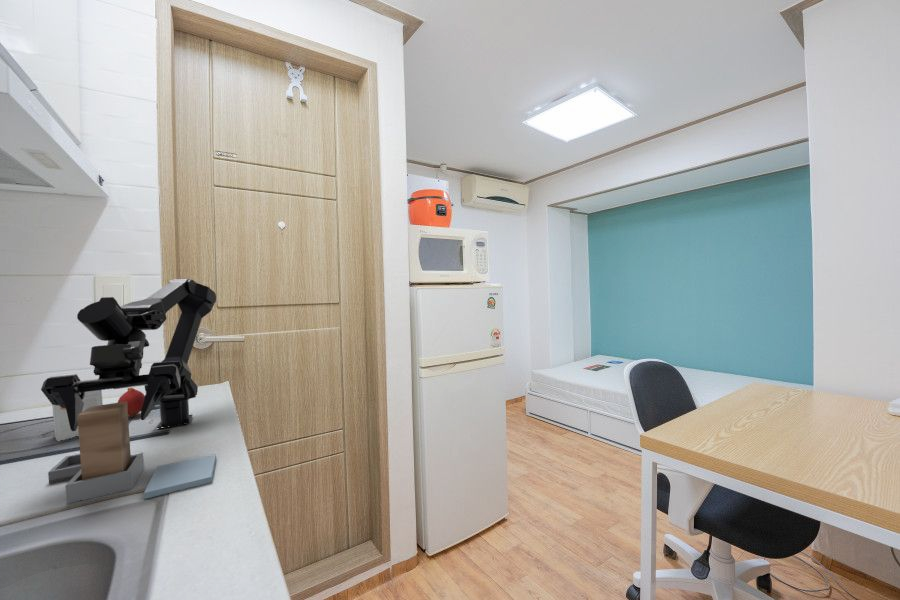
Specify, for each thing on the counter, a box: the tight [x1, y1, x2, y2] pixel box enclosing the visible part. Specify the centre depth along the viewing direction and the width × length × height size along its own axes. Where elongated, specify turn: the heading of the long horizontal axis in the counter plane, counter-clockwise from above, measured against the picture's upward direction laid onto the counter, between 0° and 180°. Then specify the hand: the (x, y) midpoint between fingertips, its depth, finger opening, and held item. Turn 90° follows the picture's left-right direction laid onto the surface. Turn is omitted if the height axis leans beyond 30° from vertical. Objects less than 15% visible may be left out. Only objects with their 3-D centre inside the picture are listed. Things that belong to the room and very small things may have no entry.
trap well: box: [47, 453, 81, 484], centre depth 67 cm, size 7×7×2 cm
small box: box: [51, 390, 104, 442], centre depth 85 cm, size 8×6×10 cm
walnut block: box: [78, 401, 132, 480], centre depth 61 cm, size 5×5×14 cm
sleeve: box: [65, 452, 145, 505], centre depth 62 cm, size 8×8×3 cm
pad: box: [143, 453, 217, 500], centre depth 64 cm, size 10×9×1 cm
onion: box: [117, 387, 146, 417], centre depth 96 cm, size 6×6×8 cm
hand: (108, 424), depth 63 cm, fingers open, 9 cm apart
